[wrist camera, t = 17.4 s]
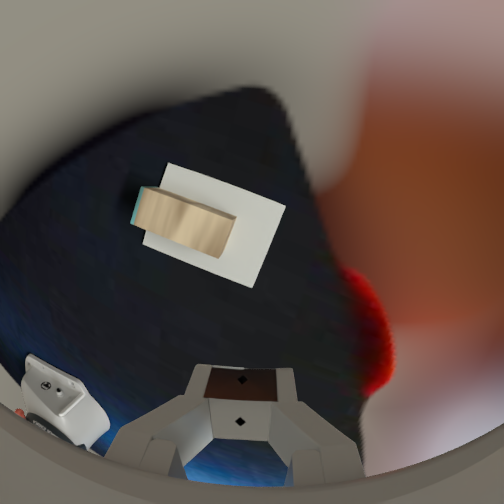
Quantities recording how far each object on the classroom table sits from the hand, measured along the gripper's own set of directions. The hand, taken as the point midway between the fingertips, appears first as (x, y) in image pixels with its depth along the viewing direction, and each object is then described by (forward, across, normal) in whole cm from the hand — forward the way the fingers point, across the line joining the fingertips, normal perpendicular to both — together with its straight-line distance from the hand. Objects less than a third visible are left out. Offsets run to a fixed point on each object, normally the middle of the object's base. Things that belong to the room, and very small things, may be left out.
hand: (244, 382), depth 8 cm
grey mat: (+23, +5, -2) cm, 24 cm away
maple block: (+20, +3, -1) cm, 21 cm away
